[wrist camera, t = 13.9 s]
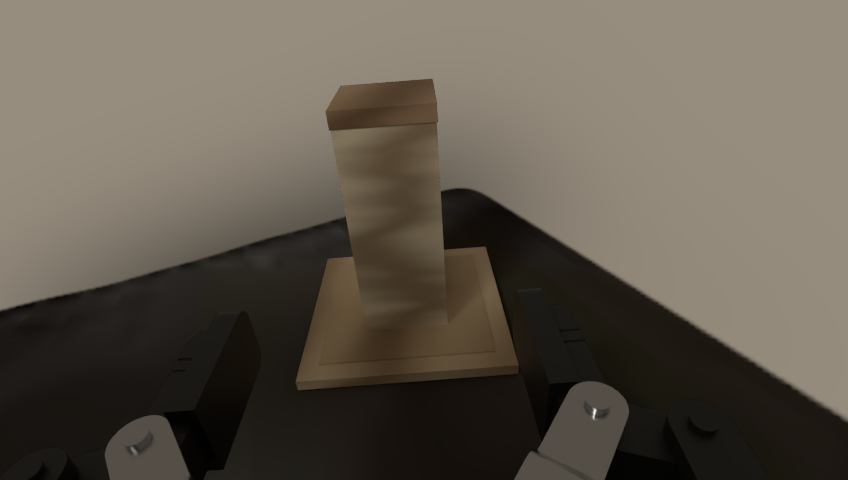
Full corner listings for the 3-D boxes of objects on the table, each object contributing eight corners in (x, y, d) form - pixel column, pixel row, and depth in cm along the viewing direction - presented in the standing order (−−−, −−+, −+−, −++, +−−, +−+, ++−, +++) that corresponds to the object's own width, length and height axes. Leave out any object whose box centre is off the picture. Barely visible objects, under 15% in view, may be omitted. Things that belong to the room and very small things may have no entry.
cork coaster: (298, 390, 23) (295, 380, 22) (329, 265, 32) (327, 257, 32) (518, 373, 23) (518, 363, 22) (485, 253, 32) (485, 245, 32)
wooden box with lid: (365, 331, 25) (325, 111, 19) (371, 281, 29) (340, 85, 23) (449, 325, 25) (436, 102, 19) (444, 276, 29) (432, 78, 23)
